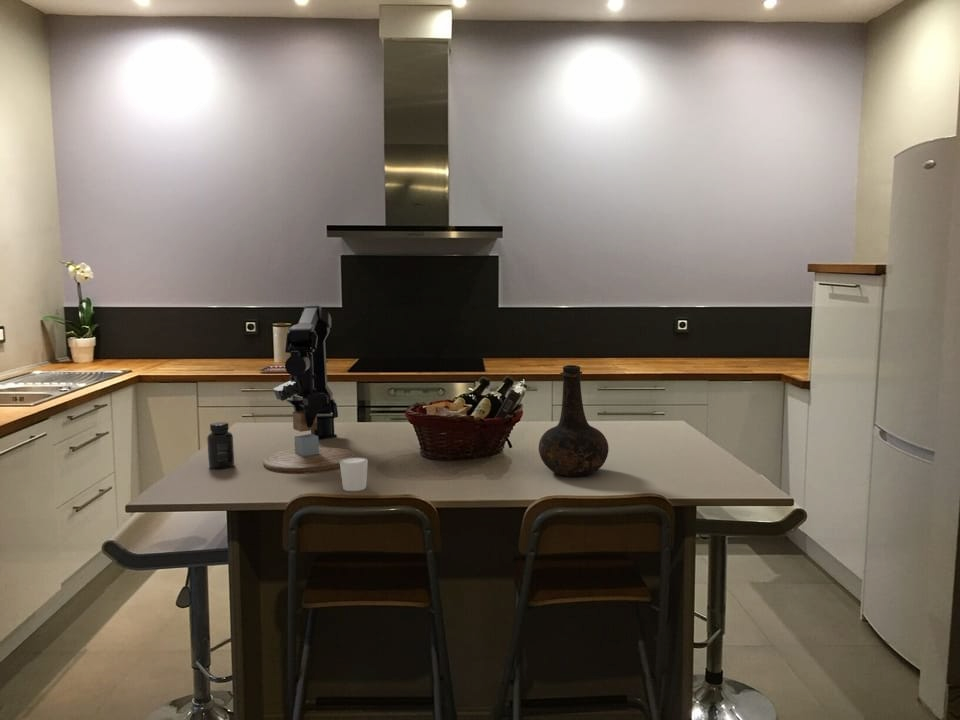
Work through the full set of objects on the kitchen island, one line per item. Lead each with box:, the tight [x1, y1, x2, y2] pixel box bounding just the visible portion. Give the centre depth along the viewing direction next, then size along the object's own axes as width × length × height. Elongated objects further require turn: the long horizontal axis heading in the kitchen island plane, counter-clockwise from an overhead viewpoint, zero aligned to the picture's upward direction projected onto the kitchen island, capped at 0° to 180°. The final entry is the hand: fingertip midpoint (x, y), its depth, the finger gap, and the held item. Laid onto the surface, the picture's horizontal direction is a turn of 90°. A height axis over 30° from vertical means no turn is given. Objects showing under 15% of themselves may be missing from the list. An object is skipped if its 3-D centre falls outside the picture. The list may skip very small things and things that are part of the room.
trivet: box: [262, 446, 355, 474], centre depth 236 cm, size 25×25×2 cm
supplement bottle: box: [206, 421, 235, 470], centre depth 232 cm, size 7×7×12 cm
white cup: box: [339, 456, 369, 492], centre depth 207 cm, size 7×7×7 cm
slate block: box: [294, 433, 320, 456], centre depth 241 cm, size 5×5×5 cm
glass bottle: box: [538, 364, 610, 477], centre depth 218 cm, size 18×18×28 cm
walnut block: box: [292, 410, 317, 432], centre depth 241 cm, size 5×5×5 cm
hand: (305, 425), depth 241 cm, fingers closed on walnut block, 5 cm apart
